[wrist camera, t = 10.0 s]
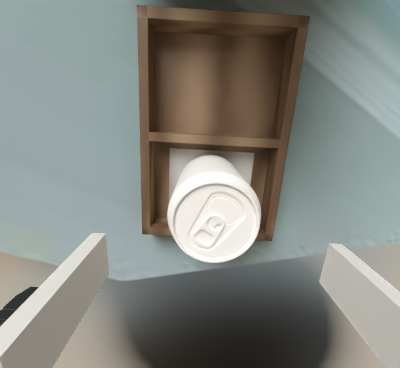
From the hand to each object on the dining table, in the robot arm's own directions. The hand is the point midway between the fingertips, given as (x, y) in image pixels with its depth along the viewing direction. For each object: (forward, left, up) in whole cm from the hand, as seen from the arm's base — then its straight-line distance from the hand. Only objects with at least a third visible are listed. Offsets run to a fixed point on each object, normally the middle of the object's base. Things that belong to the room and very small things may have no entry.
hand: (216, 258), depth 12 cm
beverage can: (0, 0, -17) cm, 17 cm away
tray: (0, +6, -17) cm, 18 cm away
